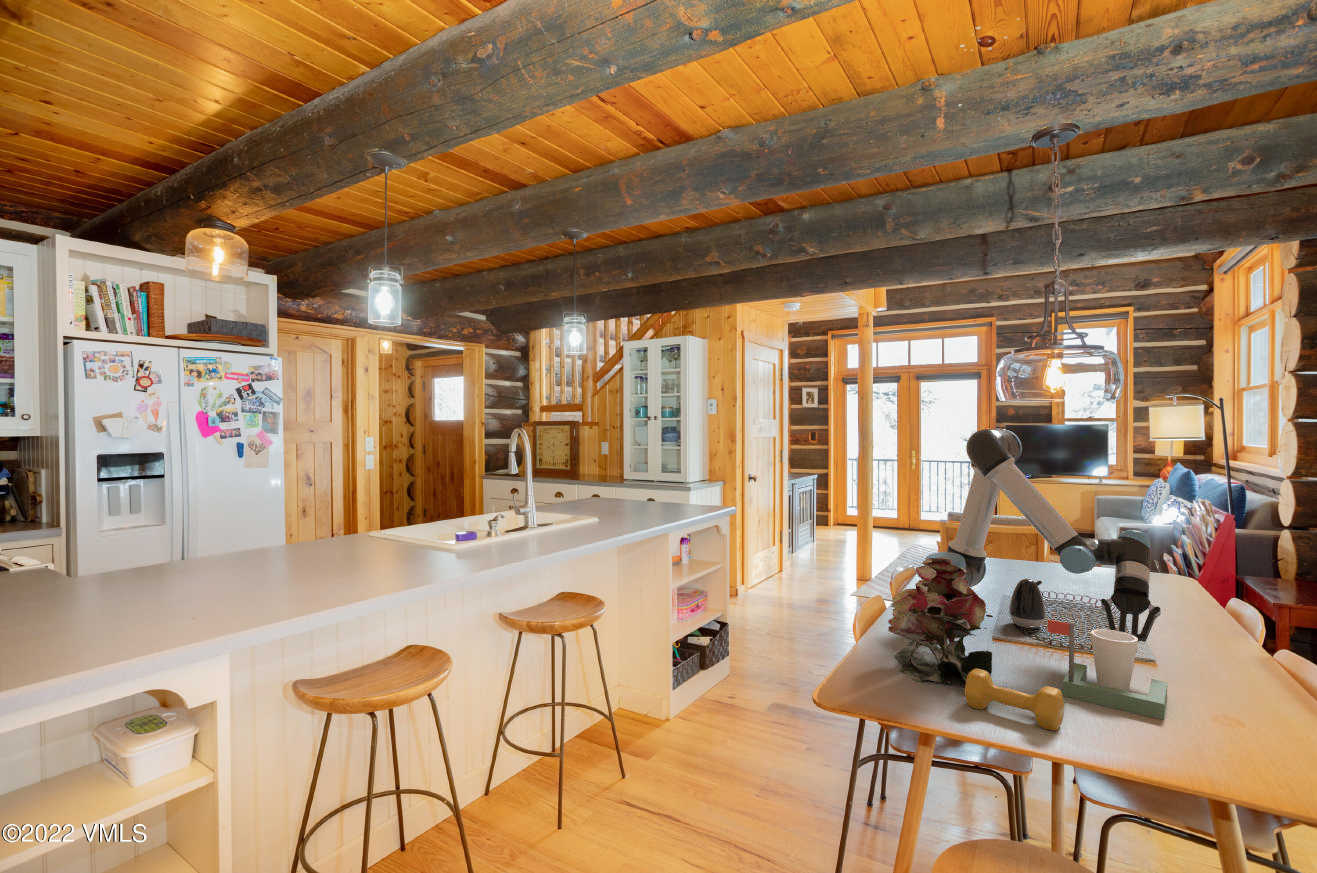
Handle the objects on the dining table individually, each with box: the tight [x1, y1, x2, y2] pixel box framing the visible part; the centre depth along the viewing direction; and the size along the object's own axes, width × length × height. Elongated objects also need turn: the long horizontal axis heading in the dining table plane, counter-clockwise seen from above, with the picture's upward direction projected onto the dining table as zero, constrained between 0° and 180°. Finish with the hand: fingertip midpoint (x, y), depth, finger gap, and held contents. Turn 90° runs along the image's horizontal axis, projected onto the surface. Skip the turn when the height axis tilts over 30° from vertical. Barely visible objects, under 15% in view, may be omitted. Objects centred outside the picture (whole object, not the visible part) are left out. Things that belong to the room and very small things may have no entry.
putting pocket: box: [1046, 619, 1168, 721], centre depth 152 cm, size 16×22×18 cm
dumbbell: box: [964, 668, 1065, 732], centre depth 141 cm, size 19×9×8 cm, turn 45°
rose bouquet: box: [887, 557, 997, 691], centre depth 168 cm, size 26×29×30 cm
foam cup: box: [1090, 628, 1139, 692], centre depth 156 cm, size 10×9×13 cm
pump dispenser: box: [1008, 578, 1047, 629], centre depth 203 cm, size 10×10×15 cm
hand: (1126, 662), depth 159 cm, fingers closed
